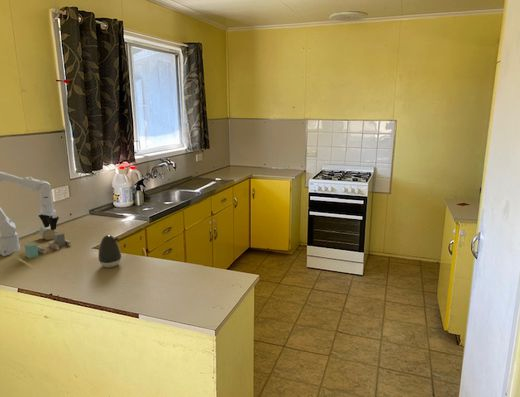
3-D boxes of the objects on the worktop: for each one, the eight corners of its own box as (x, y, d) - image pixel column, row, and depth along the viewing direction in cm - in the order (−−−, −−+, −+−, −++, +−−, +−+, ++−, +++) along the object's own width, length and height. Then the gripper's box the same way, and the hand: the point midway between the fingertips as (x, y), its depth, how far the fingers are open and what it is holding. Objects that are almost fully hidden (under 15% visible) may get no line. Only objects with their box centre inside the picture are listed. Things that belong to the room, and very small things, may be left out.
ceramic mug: (43, 242, 216) (42, 229, 215) (40, 238, 222) (38, 225, 220) (64, 238, 223) (62, 225, 221) (59, 234, 229) (58, 222, 227)
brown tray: (44, 255, 198) (43, 249, 197) (36, 251, 203) (35, 245, 202) (71, 247, 209) (70, 241, 208) (63, 243, 214) (62, 238, 213)
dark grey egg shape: (115, 270, 180) (111, 239, 176) (94, 268, 182) (91, 238, 178) (126, 262, 189) (123, 232, 186) (107, 260, 191) (104, 231, 188)
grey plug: (58, 248, 206) (56, 235, 204) (54, 246, 208) (52, 234, 206) (65, 245, 209) (64, 233, 207) (62, 244, 211) (60, 232, 209)
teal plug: (30, 260, 192) (28, 246, 191) (26, 258, 195) (24, 245, 193) (38, 257, 195) (36, 244, 194) (35, 255, 198) (33, 242, 196)
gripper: (61, 204, 205) (64, 229, 208) (48, 200, 214) (51, 224, 217) (47, 207, 200) (50, 232, 203) (34, 203, 208) (38, 227, 211)
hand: (50, 228), depth 209 cm, fingers open, 7 cm apart
